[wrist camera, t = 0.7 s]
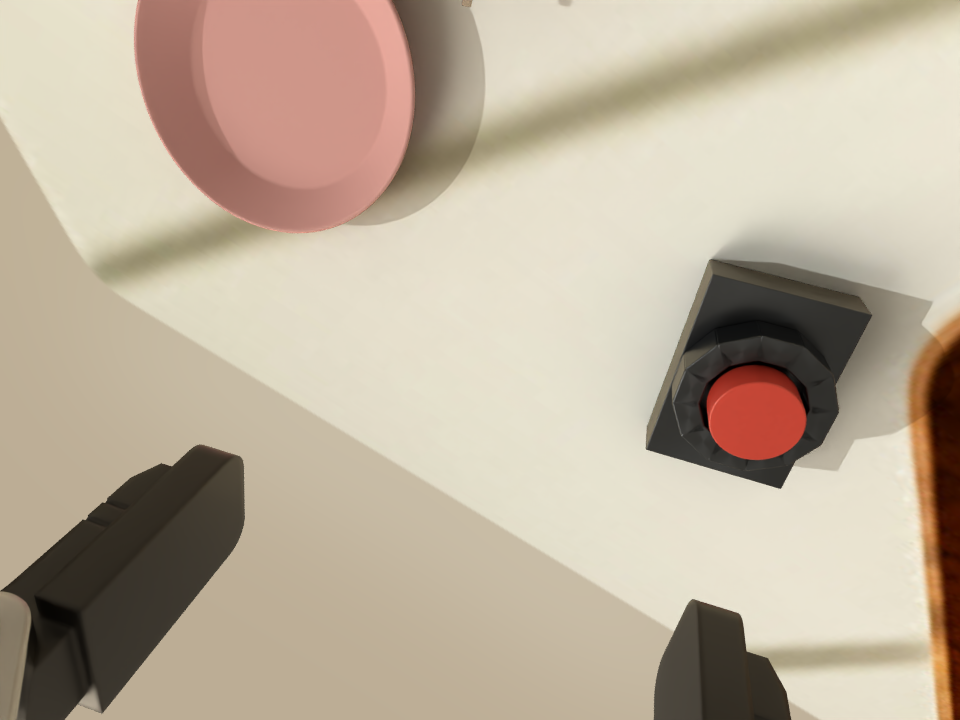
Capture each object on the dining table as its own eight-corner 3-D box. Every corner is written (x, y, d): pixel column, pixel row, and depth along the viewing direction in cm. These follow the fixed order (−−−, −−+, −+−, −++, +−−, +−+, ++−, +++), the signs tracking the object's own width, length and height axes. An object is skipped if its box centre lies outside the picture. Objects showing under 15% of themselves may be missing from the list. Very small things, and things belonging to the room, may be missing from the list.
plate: (280, 268, 38) (262, 280, 36) (108, 34, 34) (79, 35, 32) (484, 129, 32) (474, 136, 30) (302, -174, 28) (278, -187, 26)
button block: (709, 258, 32) (714, 287, 28) (860, 296, 31) (884, 331, 27) (646, 427, 37) (644, 469, 33) (774, 464, 36) (786, 512, 32)
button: (724, 353, 30) (727, 371, 28) (814, 378, 29) (822, 397, 28) (694, 425, 32) (695, 445, 30) (778, 449, 31) (784, 471, 30)
